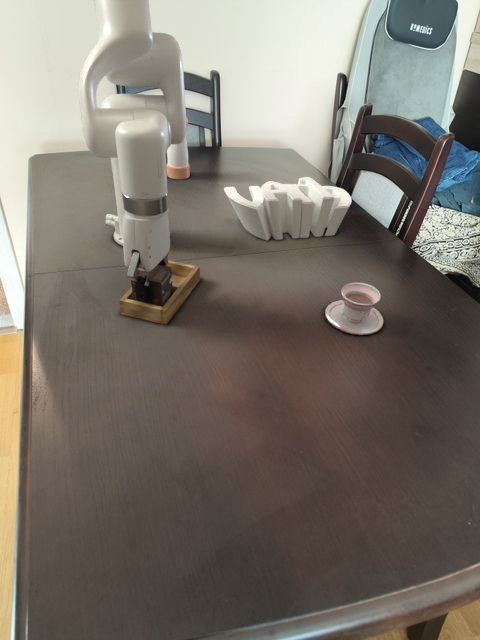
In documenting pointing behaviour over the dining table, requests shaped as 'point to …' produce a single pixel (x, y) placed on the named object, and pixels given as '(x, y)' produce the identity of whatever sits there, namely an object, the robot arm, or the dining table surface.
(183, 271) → the wooden tray
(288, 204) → the wavy white extrusion
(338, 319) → the teacup
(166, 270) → the box
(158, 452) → the dining table surface
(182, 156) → the pepper shaker
